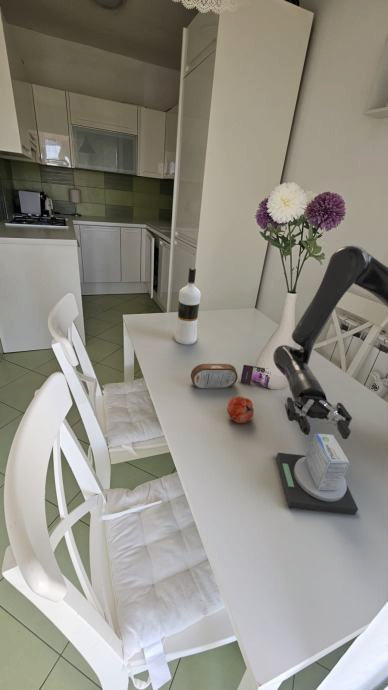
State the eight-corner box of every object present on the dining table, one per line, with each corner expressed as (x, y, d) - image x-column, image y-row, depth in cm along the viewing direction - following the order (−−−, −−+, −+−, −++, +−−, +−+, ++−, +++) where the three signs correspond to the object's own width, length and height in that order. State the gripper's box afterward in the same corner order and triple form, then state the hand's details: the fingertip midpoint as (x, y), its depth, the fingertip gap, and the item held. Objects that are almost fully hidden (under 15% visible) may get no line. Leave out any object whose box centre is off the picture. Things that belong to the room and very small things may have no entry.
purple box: (243, 365, 100) (271, 370, 99) (243, 362, 105) (269, 366, 104) (240, 384, 101) (267, 389, 100) (239, 380, 106) (265, 385, 105)
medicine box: (337, 491, 64) (351, 462, 60) (316, 491, 64) (329, 462, 60) (321, 461, 71) (333, 433, 67) (303, 460, 71) (314, 432, 66)
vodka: (178, 346, 120) (185, 271, 106) (171, 336, 128) (176, 265, 114) (200, 344, 124) (209, 271, 110) (191, 334, 131) (198, 265, 117)
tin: (233, 384, 101) (237, 362, 98) (236, 389, 99) (240, 367, 95) (189, 384, 98) (191, 362, 95) (190, 390, 96) (193, 368, 92)
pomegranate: (220, 422, 87) (238, 425, 78) (219, 397, 88) (236, 396, 79) (242, 421, 90) (262, 423, 81) (241, 396, 91) (260, 395, 82)
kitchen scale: (331, 465, 75) (336, 455, 73) (354, 516, 63) (360, 506, 61) (275, 459, 74) (278, 449, 73) (287, 509, 63) (291, 498, 61)
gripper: (282, 375, 79) (299, 417, 64) (337, 381, 79) (366, 424, 64) (276, 398, 82) (290, 443, 68) (328, 403, 82) (353, 450, 68)
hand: (327, 434), depth 66 cm, fingers open, 8 cm apart
